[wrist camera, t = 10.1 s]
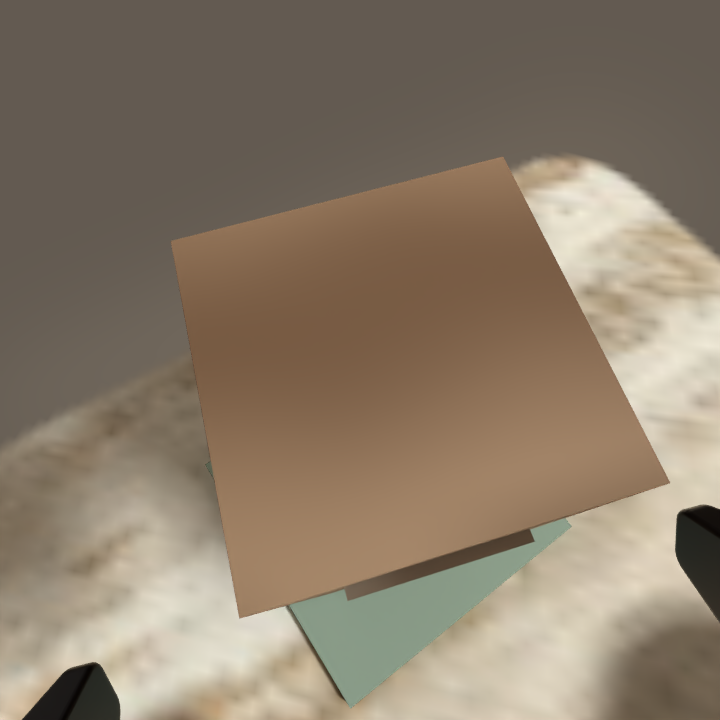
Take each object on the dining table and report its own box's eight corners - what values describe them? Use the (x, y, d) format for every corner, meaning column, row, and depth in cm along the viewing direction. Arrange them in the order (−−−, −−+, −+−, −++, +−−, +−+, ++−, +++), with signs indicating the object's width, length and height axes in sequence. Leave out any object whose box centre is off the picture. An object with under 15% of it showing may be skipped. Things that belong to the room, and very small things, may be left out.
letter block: (480, 553, 18) (679, 500, 6) (333, 599, 17) (243, 639, 6) (428, 407, 19) (503, 156, 8) (295, 446, 19) (171, 241, 8)
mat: (567, 527, 18) (571, 526, 18) (351, 705, 16) (350, 708, 16) (407, 333, 21) (407, 329, 21) (208, 466, 19) (205, 464, 19)
